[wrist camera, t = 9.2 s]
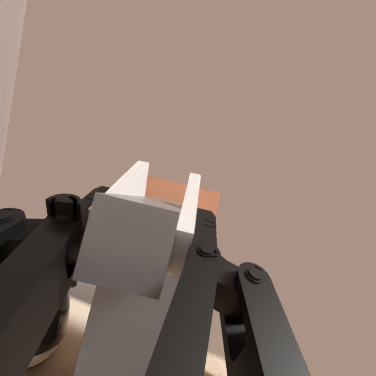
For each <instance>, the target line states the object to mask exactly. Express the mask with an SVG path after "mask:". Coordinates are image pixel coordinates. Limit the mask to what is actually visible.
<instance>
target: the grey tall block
mask: <svg viewBox="0 0 376 376" xmlns="http://www.w3.org/2000/svg"><path fill="white" fill-rule="evenodd" d="M179 278H180V277H176V276H172V275H168V274H166V276H165V280H164V284H163V287H162V291H161V295H160V299H159V300H156V299H152V298H148V297H144V296H139V295H135V294H131V293H127V292H122V291H118V290H114V289H110V288H106V287H101V286H97V285H96V290H95V294H94V297H93V301H92V305H91V309H90V312H89V316H88V320H87V324H86V328H85V332H84V336H83V339H82V343H81V347H80V351H79V355H78V359H77V363H76V367H75V370H74V374H73V376H145V373H146V370H147V368H148V365H149V362H150V359H151V357H152V354H153V351H154V348H155V345H156V343H157V340H158V337H159V334H160V331H161V329H162V326H163V323H164V320H165V317H166V315H167V312H168V309H169V306H170V303H171V301H172V298H173V295H174V292H175V290H176V287H177V284H178V281H179Z"/></svg>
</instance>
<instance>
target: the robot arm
mask: <svg viewBox="0 0 376 376" xmlns="http://www.w3.org/2000/svg"><path fill="white" fill-rule="evenodd" d="M26 4H27V0H0V179H1V172H2V165H3V158H4V152H5V145H6V139H7V132H8V125H9V118H10V112H11V105H12V98H13V91H14V85H15V78H16V71H17V64H18V58H19V50H20V44H21V37H22V31H23V23H24V16H25V10H26ZM148 168H149V163H147V162H143V161H138V162H137V163H136V164H135V165H134V166H133V167H132V168H131V169H129V171H127V172H126V173H125V174H124V175H123V176H122V177H121V178H120V179H119V180H118V181H117V182H116V183H115V184H114V185H113V186H112V187H111V188H109V187H104V186H101V187H98V188H95V189H94V190H92V191H91V192H90V193H89V194H88V195H86V196H85V197H84V198H83V199H80V198H79V197H78V196H76V195H73V194H57V195H54V196H50V197H49V198H47V199H46V207H47V215H48V216H47V217H46V218H45V219H26V217H25V213H24V211H22V210H20V209H16V208H4V209H0V376H24V374H25V372H26V370H27V369H28V367H29V365H30V363H31V361H32V359H33V357H34V355H35V353H36V351H37V350H38V348H39V346H40V344H41V342H42V340H43V338H44V336H45V334H46V332H47V331H48V329H49V327H50V325H51V323H52V321H53V319H54V317H55V315H56V313H57V311H58V310H59V308H60V306H61V304H62V302H63V300H64V298H65V296H66V294H67V292H68V291H69V289H70V287H71V285H72V283H73V281H74V280H72V278H73V274H74V270H75V266H76V263H77V259H78V255H79V251H80V248H81V244H82V240H83V236H84V233H85V229H86V225H87V221H88V218H89V214H90V210H91V206H92V203H93V199H94V195H95V192H97V193H108V194H120V195H132V196H143V197H144V196H145V191H146V183H147V176H148ZM200 177H201V176H200V175H198V174H194V173H190V177H189V181H188V185H187V189H186V193H185V197H184V201H183V205H182V209H181V213H180V217H179V221H178V225H177V229H176V234H175V238H174V242H173V246H172V251H171V255H170V259H169V264H168V268H167V272H166V274H168V275H172V276H176V277H180V278H179V281H178V284H177V287H176V290H175V292H174V295H173V298H172V301H171V303H170V306H169V309H168V312H167V315H166V317H165V320H164V323H163V326H162V329H161V331H160V334H159V337H158V340H157V343H156V345H155V348H154V351H153V354H152V357H151V359H150V362H149V365H148V368H147V370H146V373H145V376H204V370H205V363H206V356H207V349H208V342H209V335H210V328H211V321H212V313H213V309H215V310H216V311H218V312H220V320H221V328H222V336H223V344H224V352H225V360H226V368H227V376H311V375H310V372H309V370H308V368H307V365H306V363H305V360H304V358H303V356H302V353H301V351H300V348H299V346H298V344H297V341H296V339H295V336H294V334H293V332H292V329H291V327H290V324H289V322H288V320H287V317H286V315H285V313H284V310H283V307H282V305H281V303H280V300H279V298H278V296H277V293H276V291H275V288H274V286H273V283H272V281H271V278H270V277H269V275H268V273H267V272H266V271H265V270H264V269H263V268H261V267H260V266H258V265H256V264H253V263H250V262H245V263H242V264H240V266H239V267H238V266H236V265H234V264H232V263H230V262H229V261H227V260H225V259H224V258H223V257H222V256H221V254H220V251H219V249H218V248H217V238H216V217H215V215H214V214H213V212H212V211H209V210H205V209H201V208H197V204H198V195H199V186H200Z"/></svg>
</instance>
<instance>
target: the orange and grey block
mask: <svg viewBox="0 0 376 376" xmlns="http://www.w3.org/2000/svg"><path fill="white" fill-rule="evenodd" d="M126 172H127V171H126ZM186 189H187V185H184V184H180V183H176V182H172V181H168V180H163V179H159V178H155V177H151V176H147V183H146V191H145V196H144V197H143V196H132V195H120V194H108V193H97V192H95V195H94V199H93V203H92V206H91V210H90V214H89V218H88V221H87V225H86V229H85V233H84V236H83V240H82V244H81V248H80V251H79V255H78V259H77V263H76V266H75V270H74V274H73V278H72V280H76V281H81V282H85V283H89V284H93V285H97V286H101V287H106V288H110V289H114V290H118V291H122V292H127V293H131V294H135V295H139V296H144V297H148V298H152V299H156V300H159V299H160V295H161V291H162V287H163V284H164V280H165V276H166V272H167V268H168V264H169V259H170V255H171V251H172V246H173V242H174V238H175V234H176V229H177V225H178V221H179V217H180V213H181V209H182V205H183V201H184V197H185V193H186ZM220 195H221V193H218V192H214V191H210V190H205V189H201V188H199V195H198V204H197V208H201V209H205V210H209V211H212V212H213V214H214V215H215V217H216V213H217V209H218V204H219V200H220Z"/></svg>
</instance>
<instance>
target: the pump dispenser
mask: <svg viewBox="0 0 376 376" xmlns="http://www.w3.org/2000/svg"><path fill="white" fill-rule="evenodd" d="M76 285H77V281H76V280H74V281H73V283H72V285H71V287H75V286H76ZM71 287H70V288H71ZM69 309H70V300H69V291H68V292H67V294H66V296H65V298H64V300H63V302H62V304H61V306H60V308H59V310H58V311H57V313H56V315H55V317H54V319H53V321H52V323H51V325H50V327H49V329H48V331H47V332H46V334H45V336H44V338H43V340H42V342H41V344H40V346H39V348H38V350H37V351H36V353H35V355H34V357H33V359H32V361H31V363H30V365H29V367H28V368H30V367H32V366H35V365H37V364H39V363H41V362H42V361H44V360H45V359H46V358H48V357H49V356H50V355H51V354H52V353H53V352H54V351H55V349H56V348H57V347H58V345H59V343H60V342H61V341H62V339H63V338H64V336H65V334H66V331H67V326H68V320H69Z"/></svg>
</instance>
